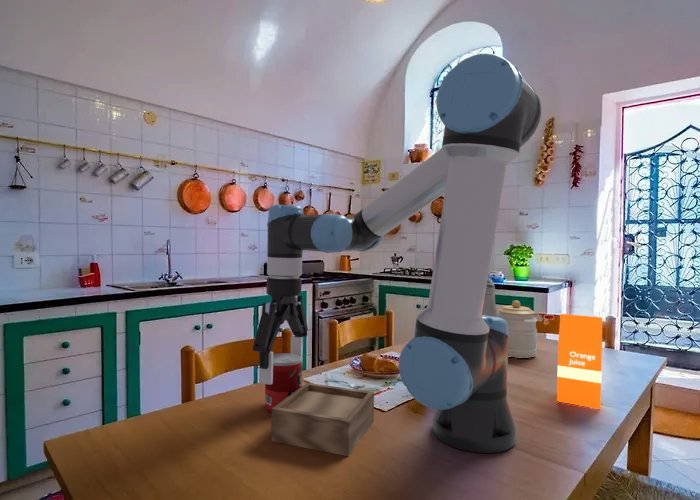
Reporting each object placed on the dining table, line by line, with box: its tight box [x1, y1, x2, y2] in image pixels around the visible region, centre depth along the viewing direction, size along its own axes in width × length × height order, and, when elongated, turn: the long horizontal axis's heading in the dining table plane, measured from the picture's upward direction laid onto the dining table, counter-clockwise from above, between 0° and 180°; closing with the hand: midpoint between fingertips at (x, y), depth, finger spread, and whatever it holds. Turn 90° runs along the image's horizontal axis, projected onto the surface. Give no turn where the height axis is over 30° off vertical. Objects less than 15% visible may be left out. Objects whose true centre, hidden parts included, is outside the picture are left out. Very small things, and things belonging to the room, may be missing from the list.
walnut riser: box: [270, 382, 375, 457], centre depth 83 cm, size 15×15×6 cm
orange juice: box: [556, 313, 603, 410], centre depth 100 cm, size 8×9×20 cm
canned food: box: [264, 352, 303, 414], centre depth 93 cm, size 8×8×11 cm
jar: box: [497, 300, 538, 358], centre depth 140 cm, size 13×13×18 cm
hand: (282, 373), depth 94 cm, fingers open, 13 cm apart
